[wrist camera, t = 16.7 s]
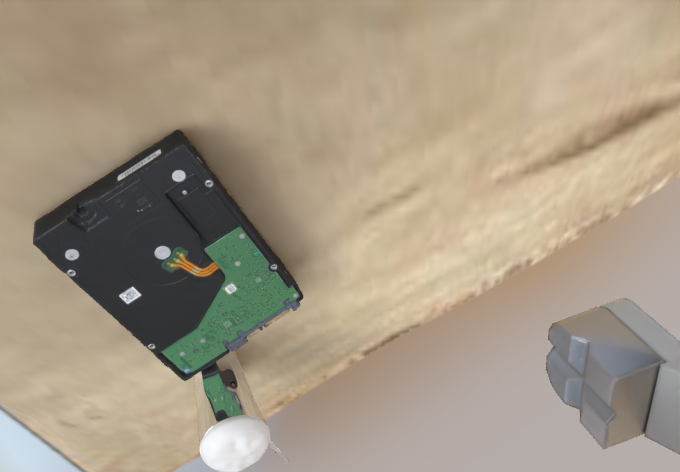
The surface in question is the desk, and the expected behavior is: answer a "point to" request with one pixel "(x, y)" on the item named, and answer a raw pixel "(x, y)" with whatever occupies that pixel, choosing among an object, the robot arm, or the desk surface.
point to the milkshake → (229, 418)
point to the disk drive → (170, 257)
